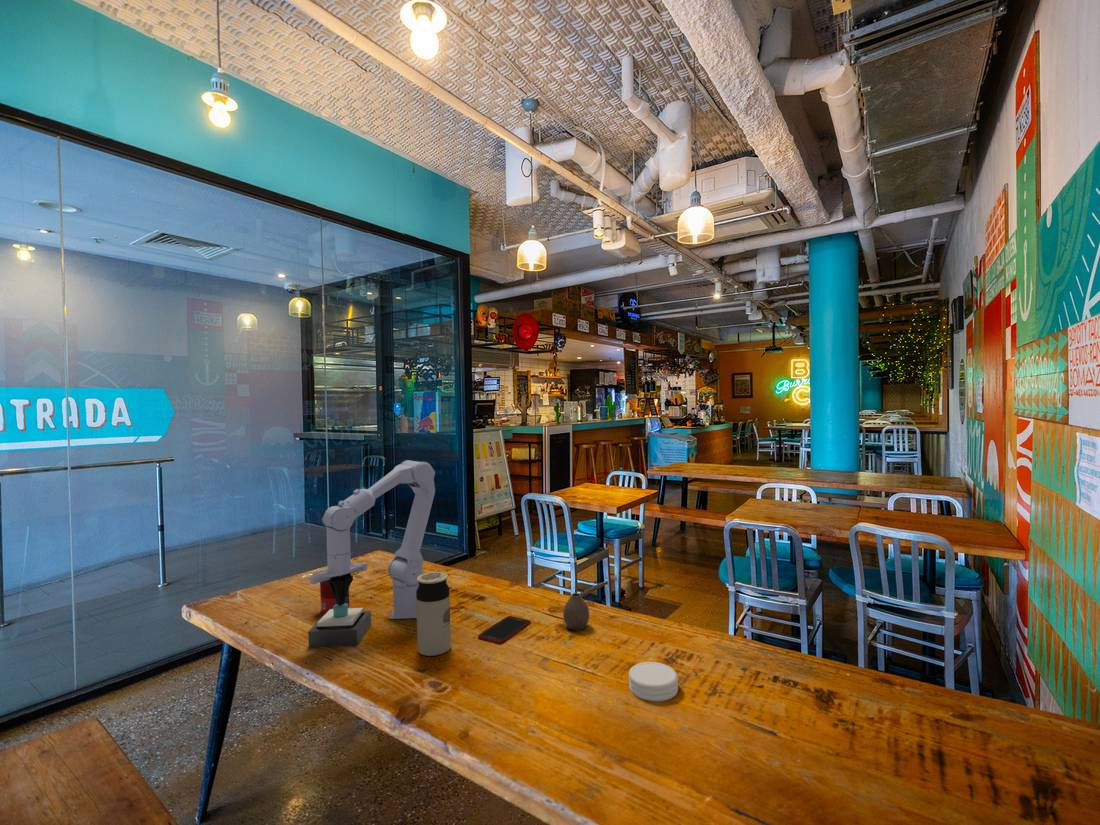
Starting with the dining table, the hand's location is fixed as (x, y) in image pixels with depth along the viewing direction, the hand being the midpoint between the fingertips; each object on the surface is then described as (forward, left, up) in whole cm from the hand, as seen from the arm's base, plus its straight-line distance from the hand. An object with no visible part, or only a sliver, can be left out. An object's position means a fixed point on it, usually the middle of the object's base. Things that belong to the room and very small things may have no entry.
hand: (340, 604), depth 137 cm
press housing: (0, 0, -8) cm, 8 cm away
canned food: (+8, -18, -9) cm, 22 cm away
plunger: (0, 0, -4) cm, 4 cm away
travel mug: (-26, +10, -9) cm, 29 cm away
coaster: (-75, +32, -9) cm, 82 cm away
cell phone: (-43, +1, -9) cm, 44 cm away
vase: (-62, +1, -9) cm, 63 cm away
